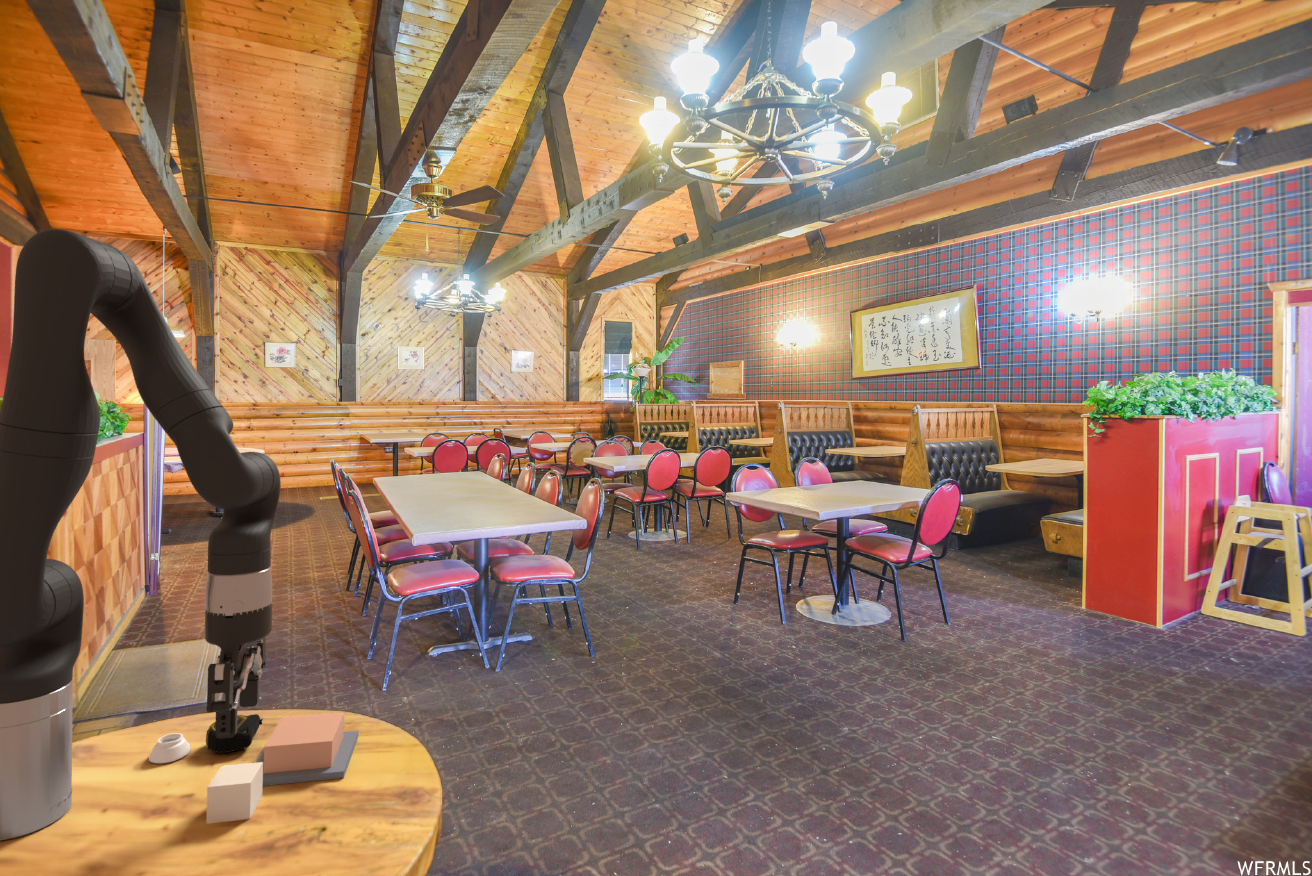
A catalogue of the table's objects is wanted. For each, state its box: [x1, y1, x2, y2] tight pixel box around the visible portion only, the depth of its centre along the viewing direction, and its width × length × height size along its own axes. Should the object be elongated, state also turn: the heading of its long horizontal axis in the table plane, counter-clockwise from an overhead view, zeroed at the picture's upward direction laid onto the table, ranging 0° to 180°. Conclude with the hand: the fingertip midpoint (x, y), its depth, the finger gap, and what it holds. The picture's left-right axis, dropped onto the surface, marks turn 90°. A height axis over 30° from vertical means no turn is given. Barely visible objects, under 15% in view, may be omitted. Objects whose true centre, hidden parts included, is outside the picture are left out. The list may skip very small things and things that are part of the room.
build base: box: [255, 712, 359, 787], centre depth 98 cm, size 13×12×5 cm
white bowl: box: [148, 732, 191, 764], centre depth 97 cm, size 5×3×5 cm
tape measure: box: [205, 713, 264, 754], centre depth 101 cm, size 7×7×4 cm
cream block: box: [206, 762, 264, 824], centre depth 86 cm, size 5×5×5 cm
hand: (238, 720), depth 85 cm, fingers open, 8 cm apart
